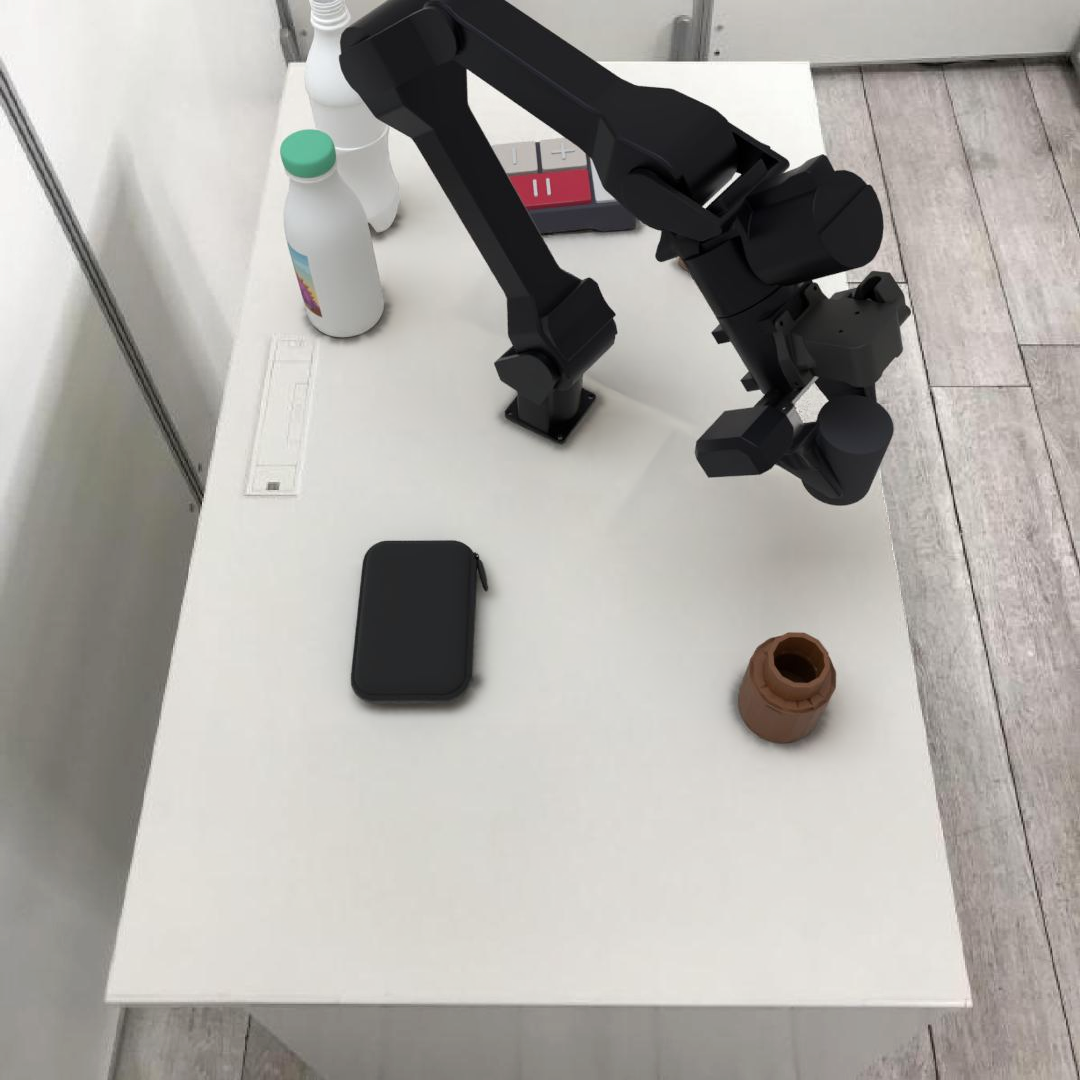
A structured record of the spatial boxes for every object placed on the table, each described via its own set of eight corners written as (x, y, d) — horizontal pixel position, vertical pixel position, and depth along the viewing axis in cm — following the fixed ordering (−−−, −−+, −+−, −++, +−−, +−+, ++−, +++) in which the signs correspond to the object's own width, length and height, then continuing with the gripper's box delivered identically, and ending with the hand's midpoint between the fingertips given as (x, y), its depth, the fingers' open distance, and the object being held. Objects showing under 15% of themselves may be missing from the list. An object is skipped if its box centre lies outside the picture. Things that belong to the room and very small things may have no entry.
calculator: (486, 140, 115) (625, 126, 114) (490, 172, 118) (625, 159, 118) (490, 211, 109) (637, 196, 108) (494, 242, 113) (636, 228, 112)
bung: (785, 500, 80) (806, 435, 73) (811, 450, 82) (833, 384, 76) (851, 527, 79) (879, 464, 72) (875, 476, 81) (904, 411, 74)
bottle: (798, 758, 82) (821, 716, 75) (723, 717, 84) (739, 672, 77) (832, 692, 85) (857, 646, 78) (759, 654, 87) (777, 605, 80)
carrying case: (485, 709, 85) (490, 550, 92) (483, 694, 82) (488, 531, 90) (351, 710, 85) (367, 551, 92) (345, 695, 82) (362, 532, 90)
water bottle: (393, 245, 112) (353, 23, 90) (327, 236, 113) (273, 14, 91) (411, 199, 115) (377, -26, 94) (347, 191, 116) (299, -34, 95)
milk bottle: (391, 285, 109) (359, 117, 92) (377, 342, 105) (342, 178, 88) (317, 280, 109) (271, 112, 92) (301, 337, 105) (250, 173, 88)
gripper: (758, 360, 61) (879, 562, 67) (921, 186, 68) (1018, 382, 74) (640, 382, 71) (754, 557, 76) (794, 227, 78) (888, 398, 83)
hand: (856, 472), depth 77 cm, fingers closed on bung, 5 cm apart
